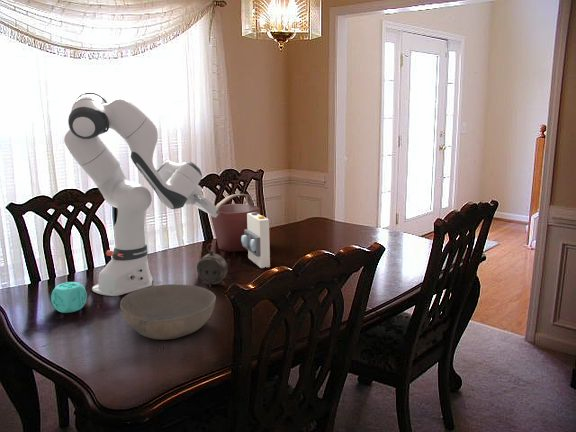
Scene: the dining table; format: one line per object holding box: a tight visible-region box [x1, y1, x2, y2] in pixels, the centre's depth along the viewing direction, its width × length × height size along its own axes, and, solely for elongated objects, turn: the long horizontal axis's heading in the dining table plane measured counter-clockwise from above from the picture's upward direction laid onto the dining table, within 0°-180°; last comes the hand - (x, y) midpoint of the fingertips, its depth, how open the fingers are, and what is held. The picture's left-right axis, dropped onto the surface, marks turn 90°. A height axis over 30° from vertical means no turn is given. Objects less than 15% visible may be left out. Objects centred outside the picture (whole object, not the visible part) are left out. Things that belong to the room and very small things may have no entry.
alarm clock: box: [196, 243, 229, 288], centre depth 193 cm, size 11×5×16 cm, turn 74°
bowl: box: [119, 283, 217, 341], centre depth 156 cm, size 28×28×10 cm
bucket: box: [210, 193, 261, 253], centre depth 245 cm, size 24×22×25 cm
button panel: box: [244, 212, 271, 269], centre depth 220 cm, size 6×16×21 cm, turn 23°
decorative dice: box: [50, 281, 88, 314], centre depth 174 cm, size 8×8×8 cm
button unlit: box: [241, 235, 249, 247], centre depth 223 cm, size 2×5×5 cm, turn 23°
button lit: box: [250, 239, 256, 251], centre depth 216 cm, size 2×5×5 cm, turn 23°
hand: (215, 215), depth 209 cm, fingers closed
